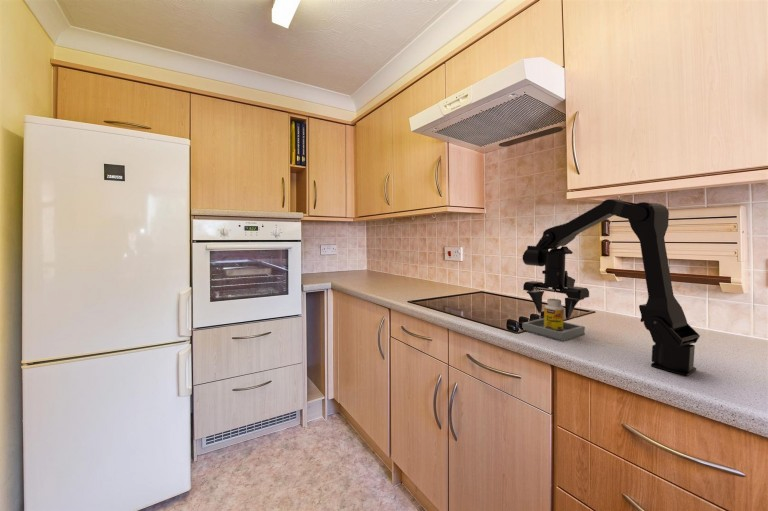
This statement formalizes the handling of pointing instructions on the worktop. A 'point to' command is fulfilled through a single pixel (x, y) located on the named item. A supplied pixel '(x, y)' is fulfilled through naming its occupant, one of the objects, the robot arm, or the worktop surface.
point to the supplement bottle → (553, 315)
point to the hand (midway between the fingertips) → (553, 315)
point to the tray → (566, 334)
